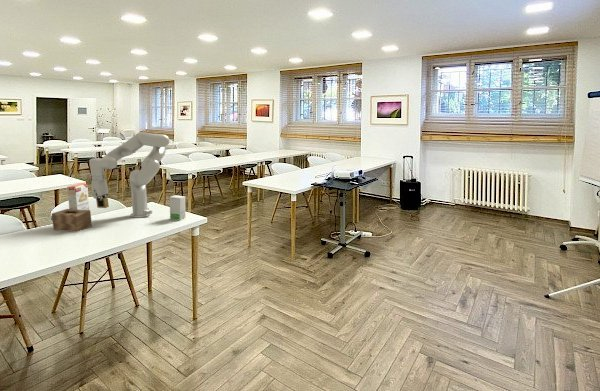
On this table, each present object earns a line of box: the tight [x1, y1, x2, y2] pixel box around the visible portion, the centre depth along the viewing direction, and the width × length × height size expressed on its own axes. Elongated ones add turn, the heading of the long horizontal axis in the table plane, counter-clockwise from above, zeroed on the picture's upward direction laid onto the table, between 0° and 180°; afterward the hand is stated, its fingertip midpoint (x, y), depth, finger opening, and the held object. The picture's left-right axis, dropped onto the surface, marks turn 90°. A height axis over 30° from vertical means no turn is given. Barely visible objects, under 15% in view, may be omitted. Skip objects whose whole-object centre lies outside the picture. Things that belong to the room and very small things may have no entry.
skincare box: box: [169, 194, 186, 221], centre depth 250 cm, size 8×7×16 cm
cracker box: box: [66, 182, 90, 210], centre depth 254 cm, size 14×6×21 cm, turn 179°
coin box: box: [51, 208, 93, 233], centre depth 226 cm, size 16×12×10 cm
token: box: [95, 197, 109, 209], centre depth 241 cm, size 6×3×6 cm, turn 81°
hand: (102, 205), depth 242 cm, fingers closed on token, 3 cm apart
